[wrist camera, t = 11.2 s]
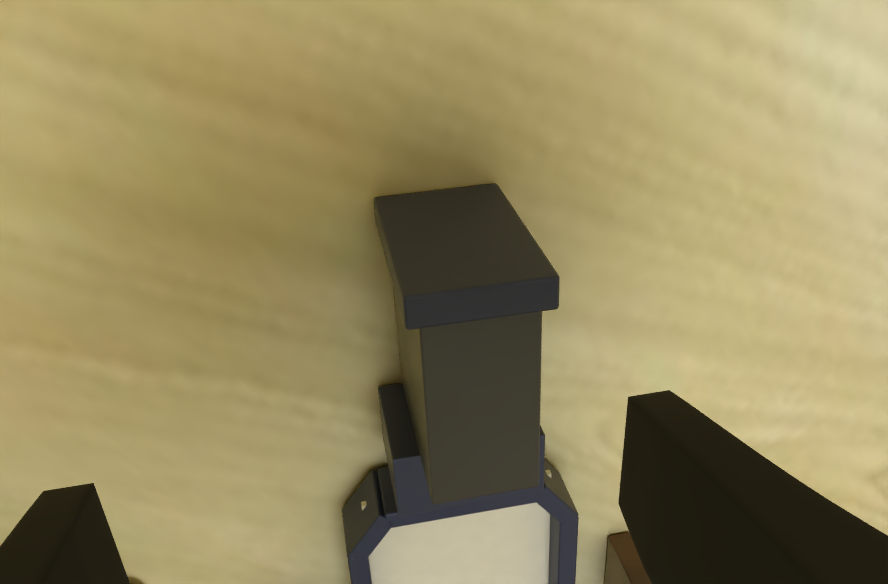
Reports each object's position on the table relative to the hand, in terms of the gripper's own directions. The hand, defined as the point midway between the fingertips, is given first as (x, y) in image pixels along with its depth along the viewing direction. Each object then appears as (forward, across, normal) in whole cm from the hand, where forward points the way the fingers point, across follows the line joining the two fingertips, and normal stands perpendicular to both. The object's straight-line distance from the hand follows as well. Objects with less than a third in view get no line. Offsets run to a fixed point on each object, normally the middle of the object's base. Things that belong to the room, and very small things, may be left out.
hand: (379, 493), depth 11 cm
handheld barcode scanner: (+10, -3, +8) cm, 14 cm away
